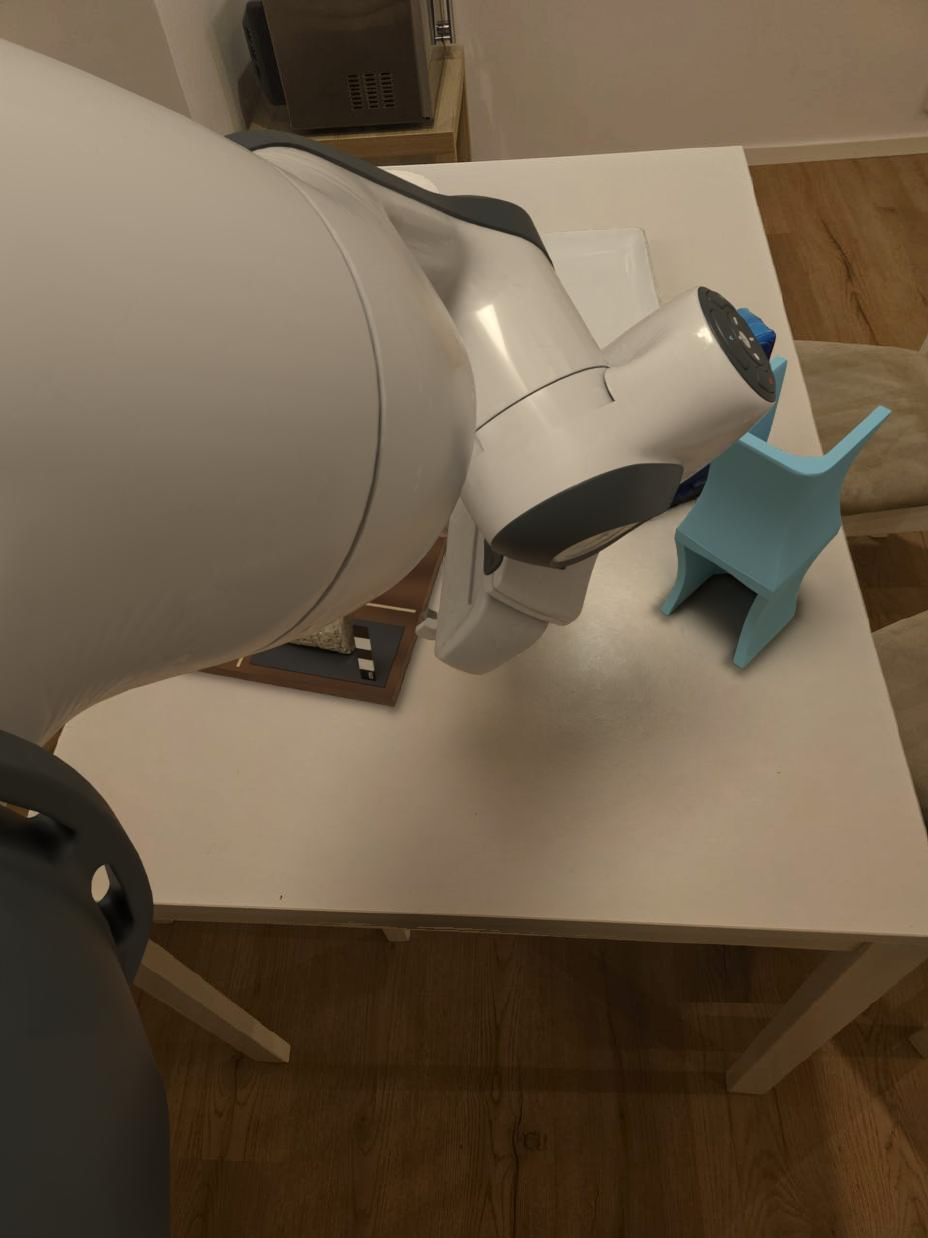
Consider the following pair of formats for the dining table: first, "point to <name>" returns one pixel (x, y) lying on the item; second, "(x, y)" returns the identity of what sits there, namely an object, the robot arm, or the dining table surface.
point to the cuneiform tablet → (344, 642)
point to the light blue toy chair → (765, 521)
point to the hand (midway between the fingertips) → (430, 576)
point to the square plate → (605, 277)
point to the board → (340, 672)
